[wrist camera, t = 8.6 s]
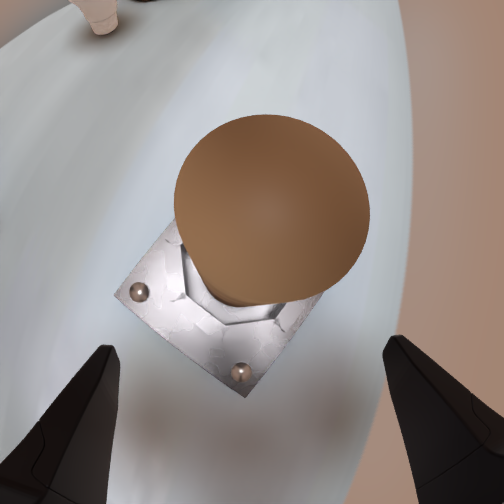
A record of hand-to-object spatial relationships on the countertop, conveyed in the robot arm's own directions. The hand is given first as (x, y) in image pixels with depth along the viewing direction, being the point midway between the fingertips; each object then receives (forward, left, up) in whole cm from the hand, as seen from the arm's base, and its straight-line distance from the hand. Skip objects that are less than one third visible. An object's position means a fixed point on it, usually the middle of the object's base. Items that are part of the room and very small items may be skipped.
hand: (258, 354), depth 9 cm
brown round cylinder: (+3, +2, -9) cm, 10 cm away
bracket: (+3, +2, -10) cm, 11 cm away
